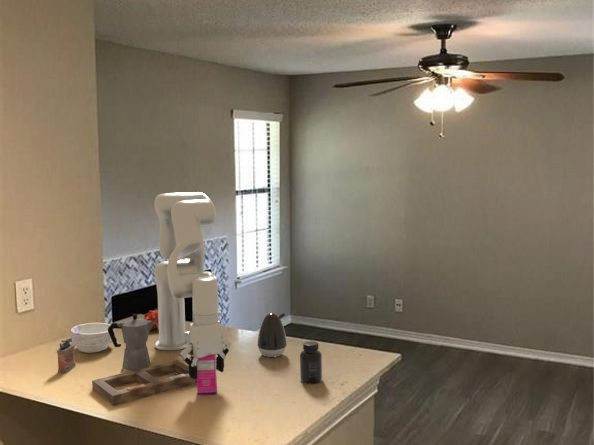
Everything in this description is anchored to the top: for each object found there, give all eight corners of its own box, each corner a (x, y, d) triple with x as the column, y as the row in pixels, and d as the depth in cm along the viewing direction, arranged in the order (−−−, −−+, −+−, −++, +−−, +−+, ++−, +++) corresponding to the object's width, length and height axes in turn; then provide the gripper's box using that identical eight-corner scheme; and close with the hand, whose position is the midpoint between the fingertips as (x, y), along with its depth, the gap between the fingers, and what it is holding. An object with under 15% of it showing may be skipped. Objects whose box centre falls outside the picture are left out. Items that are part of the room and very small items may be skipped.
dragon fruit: (169, 328, 267) (146, 340, 258) (156, 314, 270) (133, 325, 261) (175, 315, 263) (152, 326, 254) (162, 301, 266) (138, 311, 257)
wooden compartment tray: (177, 368, 216) (177, 358, 216) (201, 382, 204) (201, 371, 204) (92, 390, 198) (91, 379, 198) (113, 406, 186) (113, 394, 186)
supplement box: (197, 387, 200) (197, 351, 198) (217, 387, 200) (216, 350, 199) (196, 395, 194) (195, 357, 192) (216, 394, 194) (215, 357, 193)
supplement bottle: (324, 377, 208) (324, 341, 206) (318, 385, 201) (318, 347, 200) (304, 375, 210) (304, 339, 208) (297, 382, 204) (297, 345, 202)
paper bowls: (122, 349, 236) (121, 328, 235) (81, 358, 227) (80, 336, 226) (104, 339, 248) (103, 319, 247) (64, 348, 238) (63, 327, 237)
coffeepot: (154, 359, 225) (153, 308, 223) (158, 368, 217) (157, 315, 214) (108, 365, 220) (106, 313, 218) (110, 374, 211) (108, 320, 209)
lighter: (64, 373, 212) (63, 343, 211) (55, 373, 213) (53, 343, 212) (77, 365, 220) (76, 336, 219) (68, 364, 221) (67, 335, 219)
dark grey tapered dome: (292, 356, 228) (292, 313, 226) (267, 362, 223) (267, 318, 221) (277, 348, 237) (276, 307, 235) (252, 354, 231) (251, 312, 229)
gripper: (223, 310, 202) (224, 364, 205) (173, 320, 192) (174, 377, 194) (237, 315, 197) (237, 371, 199) (186, 326, 186) (187, 384, 188)
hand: (206, 374), depth 196 cm, fingers open, 8 cm apart
